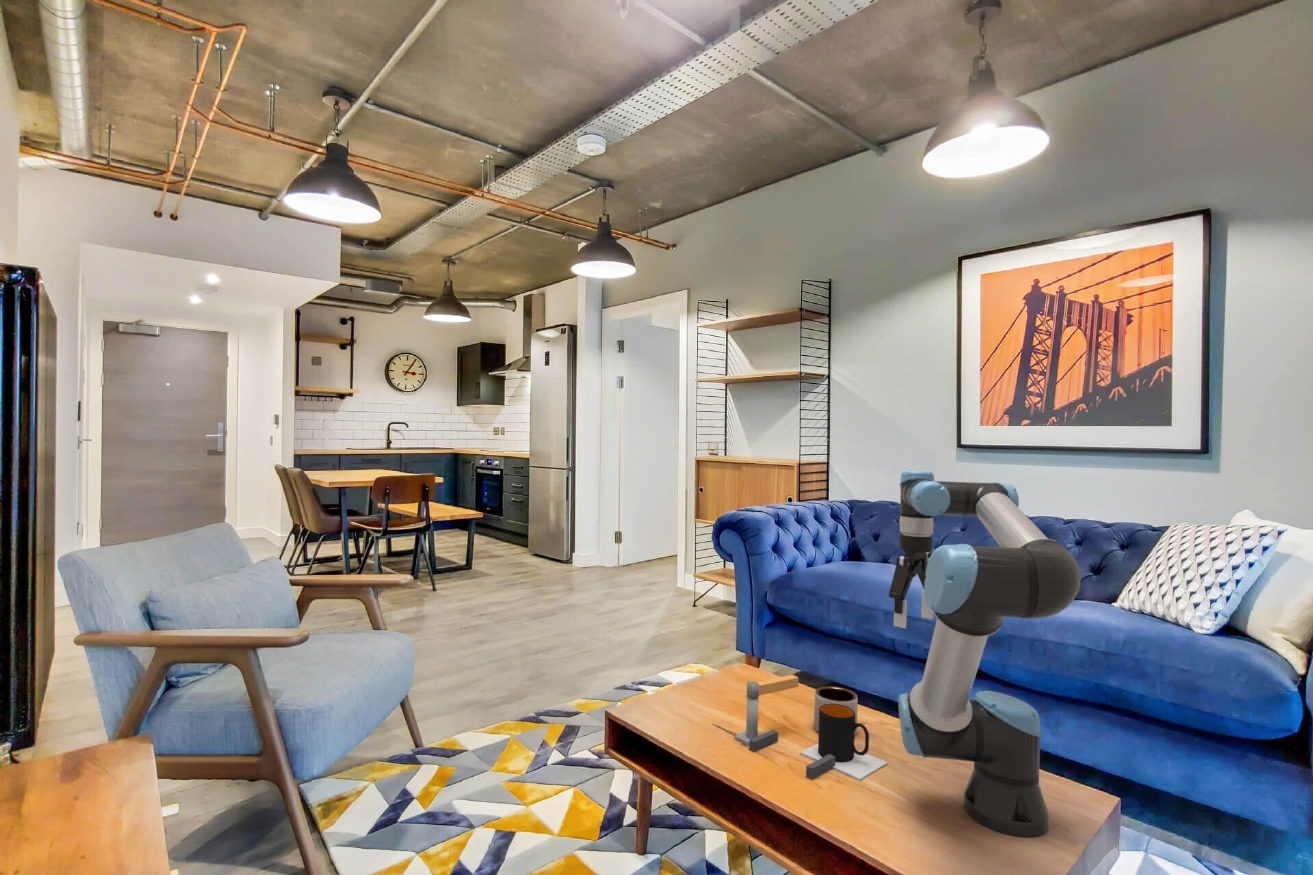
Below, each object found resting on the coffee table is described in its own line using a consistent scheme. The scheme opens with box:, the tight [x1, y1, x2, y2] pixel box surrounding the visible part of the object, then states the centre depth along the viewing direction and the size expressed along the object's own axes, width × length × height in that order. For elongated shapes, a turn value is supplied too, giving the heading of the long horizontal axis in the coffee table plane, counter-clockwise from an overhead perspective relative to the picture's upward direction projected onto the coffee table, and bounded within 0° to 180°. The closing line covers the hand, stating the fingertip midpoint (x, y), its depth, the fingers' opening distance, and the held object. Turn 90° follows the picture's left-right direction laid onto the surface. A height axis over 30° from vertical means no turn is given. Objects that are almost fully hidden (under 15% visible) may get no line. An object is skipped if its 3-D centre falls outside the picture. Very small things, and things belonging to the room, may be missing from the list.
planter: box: [813, 686, 858, 736], centre depth 170 cm, size 11×11×10 cm
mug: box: [817, 704, 870, 762], centre depth 154 cm, size 8×12×10 cm
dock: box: [734, 695, 835, 780], centre depth 156 cm, size 24×9×11 cm, turn 42°
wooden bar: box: [746, 674, 800, 699], centre depth 166 cm, size 16×3×3 cm, turn 120°
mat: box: [799, 743, 889, 781], centre depth 154 cm, size 16×12×1 cm
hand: (913, 622), depth 158 cm, fingers open, 13 cm apart
